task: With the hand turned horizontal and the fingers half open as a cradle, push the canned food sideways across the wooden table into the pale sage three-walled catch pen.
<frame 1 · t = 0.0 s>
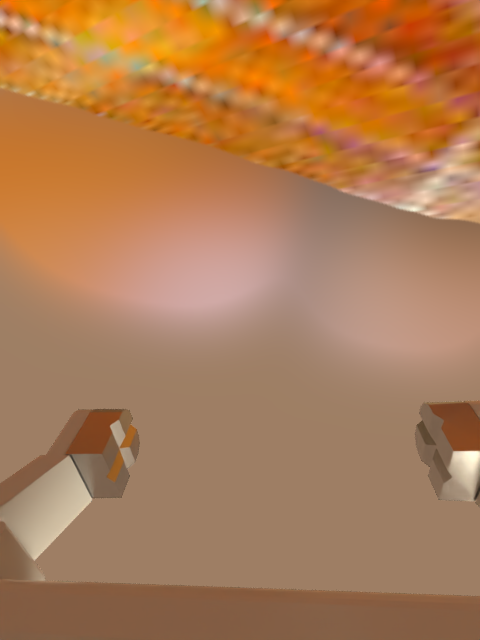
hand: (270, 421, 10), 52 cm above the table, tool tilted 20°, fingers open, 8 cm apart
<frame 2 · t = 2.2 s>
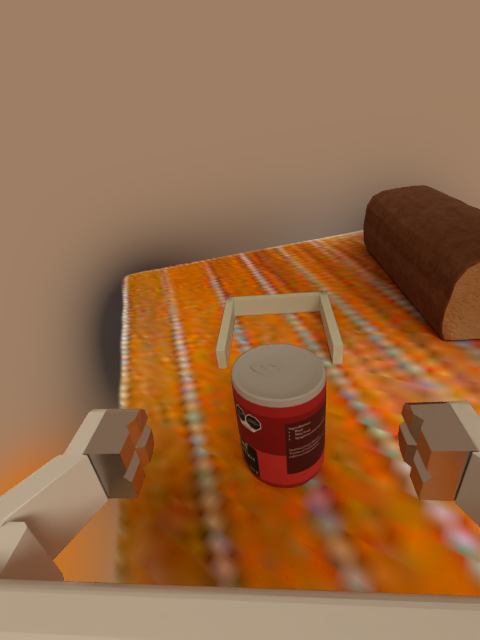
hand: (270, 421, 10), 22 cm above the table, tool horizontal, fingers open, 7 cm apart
bread: (432, 282, 64), on the table
catch pen: (278, 337, 53), on the table
canned food: (283, 456, 35), on the table
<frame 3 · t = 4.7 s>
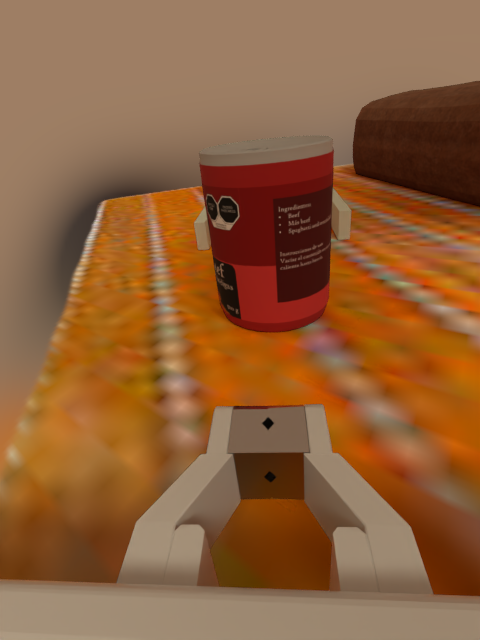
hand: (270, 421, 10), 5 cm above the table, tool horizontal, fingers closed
bread: (452, 186, 55), on the table
catch pen: (271, 226, 44), on the table
canned food: (273, 309, 26), on the table
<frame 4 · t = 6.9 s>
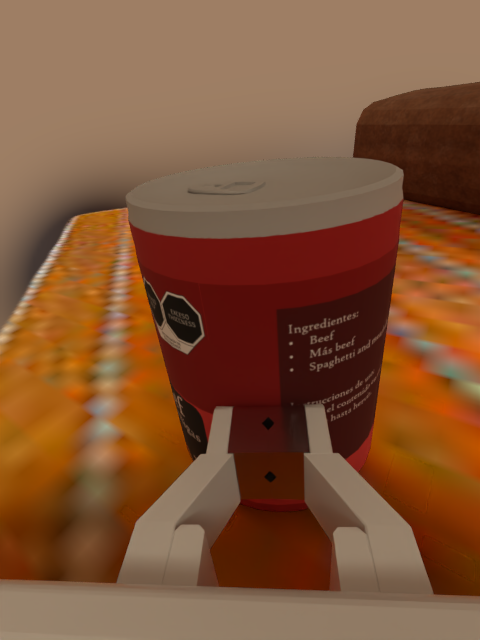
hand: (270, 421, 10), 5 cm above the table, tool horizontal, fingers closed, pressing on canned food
canned food: (275, 438, 16), on the table, touching gripper
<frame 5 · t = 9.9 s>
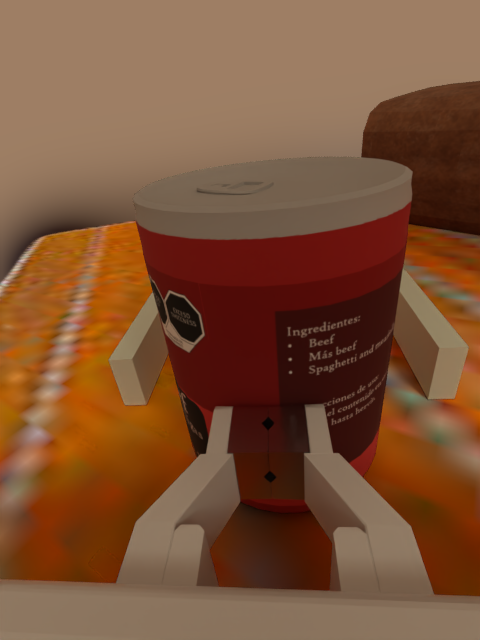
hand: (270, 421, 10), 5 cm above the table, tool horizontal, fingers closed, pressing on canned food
catch pen: (278, 327, 24), on the table
canned food: (281, 439, 16), on the table, touching gripper
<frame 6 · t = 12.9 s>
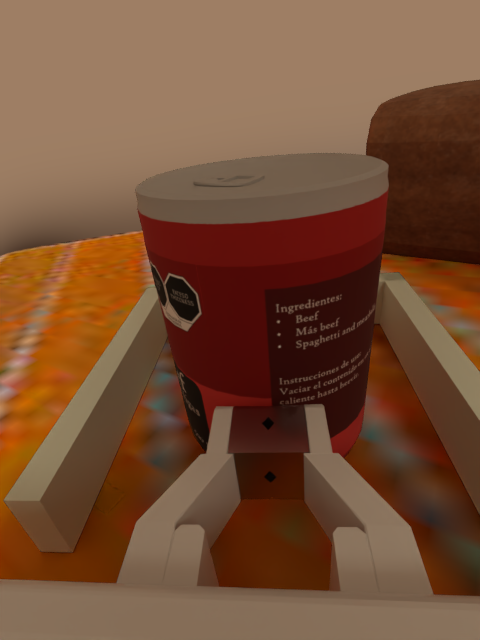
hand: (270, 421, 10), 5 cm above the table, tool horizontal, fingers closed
catch pen: (272, 403, 18), on the table
canned food: (273, 420, 17), on the table
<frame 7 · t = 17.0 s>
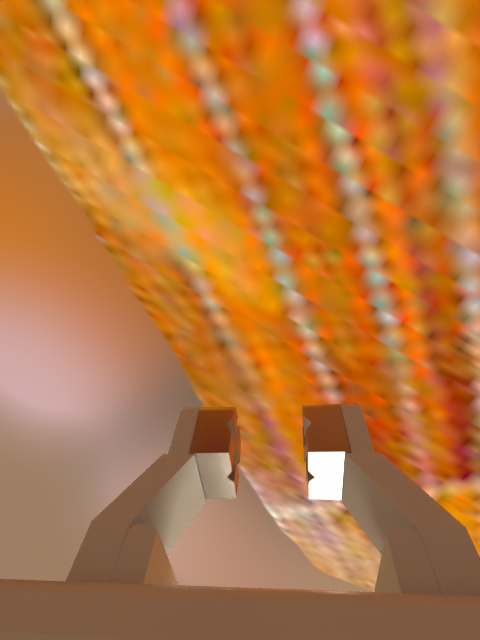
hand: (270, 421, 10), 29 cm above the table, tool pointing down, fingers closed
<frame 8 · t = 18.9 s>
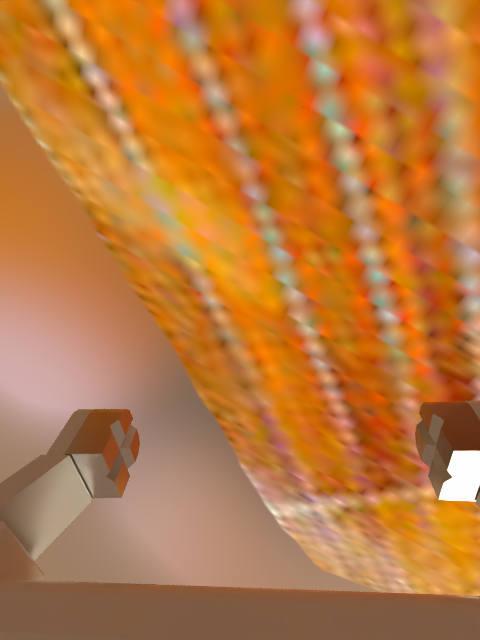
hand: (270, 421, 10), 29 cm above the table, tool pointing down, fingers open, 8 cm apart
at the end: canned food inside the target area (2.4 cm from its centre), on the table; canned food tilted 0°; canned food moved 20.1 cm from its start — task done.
